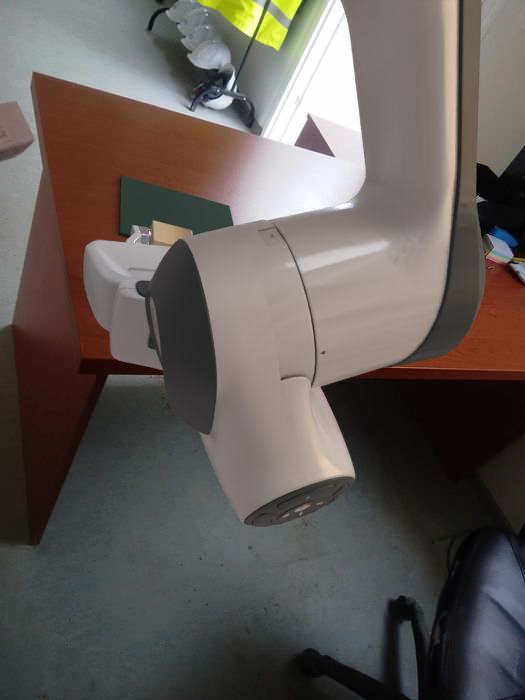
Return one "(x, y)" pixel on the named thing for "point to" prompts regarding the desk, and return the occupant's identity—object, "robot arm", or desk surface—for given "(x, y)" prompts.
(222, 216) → the mat
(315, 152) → the desk surface
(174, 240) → the maple block
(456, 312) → the robot arm
